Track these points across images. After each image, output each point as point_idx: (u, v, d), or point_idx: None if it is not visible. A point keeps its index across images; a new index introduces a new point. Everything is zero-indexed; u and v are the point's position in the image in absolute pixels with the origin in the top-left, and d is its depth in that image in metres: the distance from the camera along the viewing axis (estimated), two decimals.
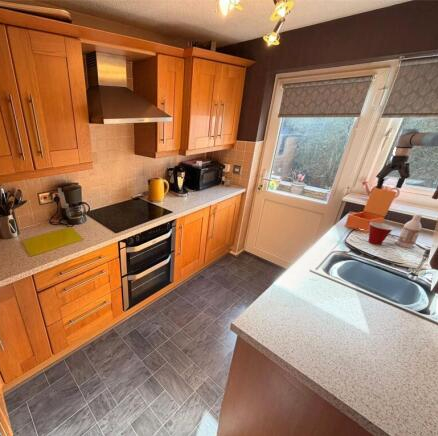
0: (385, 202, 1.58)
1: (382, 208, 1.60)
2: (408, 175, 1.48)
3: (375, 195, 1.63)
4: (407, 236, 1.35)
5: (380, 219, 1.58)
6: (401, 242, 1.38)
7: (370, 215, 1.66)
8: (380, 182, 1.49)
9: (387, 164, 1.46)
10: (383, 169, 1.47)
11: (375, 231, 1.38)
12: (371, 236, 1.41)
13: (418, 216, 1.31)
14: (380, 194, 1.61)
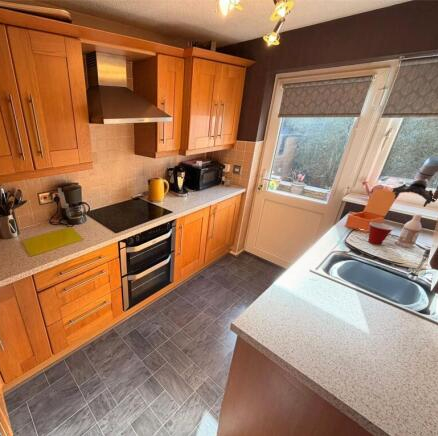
0: (386, 202, 1.59)
1: (383, 208, 1.60)
2: None
3: (377, 195, 1.64)
4: (407, 236, 1.35)
5: (380, 219, 1.58)
6: (401, 242, 1.38)
7: (370, 215, 1.66)
8: (396, 192, 1.53)
9: None
10: None
11: (375, 231, 1.38)
12: (371, 236, 1.41)
13: (418, 216, 1.31)
14: (382, 194, 1.62)
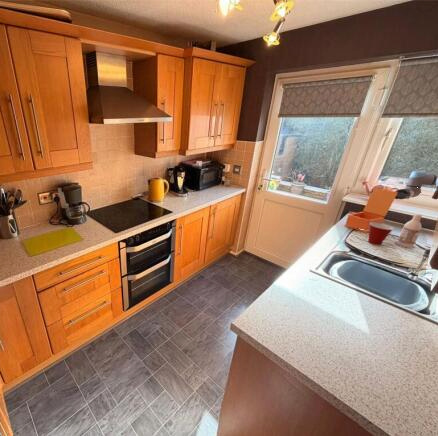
0: (386, 202, 1.59)
1: (382, 208, 1.60)
2: (398, 195, 1.60)
3: (376, 195, 1.64)
4: (407, 236, 1.35)
5: (380, 219, 1.58)
6: (401, 242, 1.38)
7: (370, 215, 1.66)
8: None
9: None
10: None
11: (375, 231, 1.38)
12: (371, 236, 1.41)
13: (418, 216, 1.31)
14: (381, 194, 1.61)
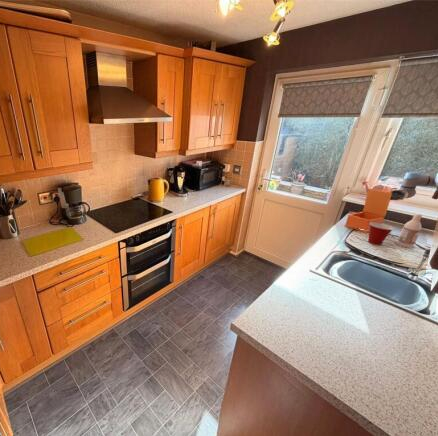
0: (382, 203, 1.57)
1: (381, 208, 1.59)
2: (392, 196, 1.59)
3: (371, 196, 1.62)
4: (407, 236, 1.35)
5: (380, 219, 1.58)
6: (401, 242, 1.38)
7: (370, 215, 1.66)
8: None
9: None
10: None
11: (375, 231, 1.38)
12: (371, 236, 1.41)
13: (418, 216, 1.31)
14: (376, 195, 1.59)
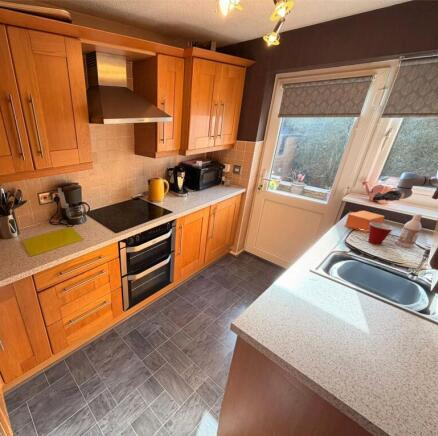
0: None
1: None
2: (388, 197, 1.58)
3: None
4: (407, 236, 1.35)
5: (380, 219, 1.58)
6: (401, 242, 1.38)
7: None
8: None
9: (377, 194, 1.68)
10: None
11: (375, 231, 1.38)
12: (371, 236, 1.41)
13: (418, 216, 1.31)
14: None
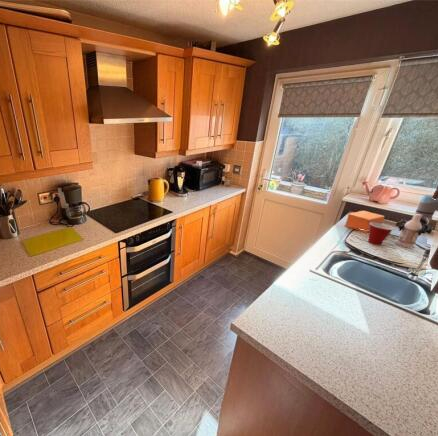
0: None
1: None
2: (430, 229, 1.32)
3: None
4: (407, 236, 1.35)
5: (380, 219, 1.58)
6: (401, 242, 1.38)
7: None
8: (400, 225, 1.38)
9: (400, 221, 1.46)
10: None
11: (375, 231, 1.38)
12: (371, 236, 1.41)
13: (418, 216, 1.31)
14: None
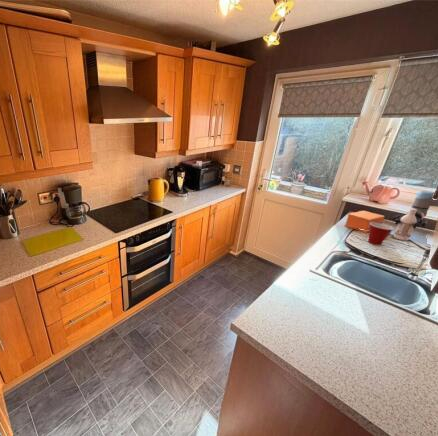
0: None
1: None
2: (424, 222, 1.41)
3: None
4: (403, 229, 1.44)
5: (380, 219, 1.58)
6: (398, 235, 1.47)
7: None
8: (396, 219, 1.47)
9: None
10: None
11: (375, 231, 1.38)
12: (371, 236, 1.41)
13: (413, 210, 1.40)
14: None
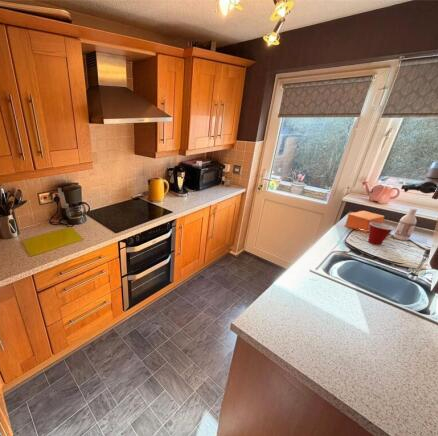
0: None
1: None
2: None
3: None
4: (403, 229, 1.44)
5: (380, 219, 1.58)
6: (398, 235, 1.47)
7: None
8: (405, 187, 1.47)
9: None
10: None
11: (375, 231, 1.38)
12: (371, 236, 1.41)
13: (413, 210, 1.40)
14: None
